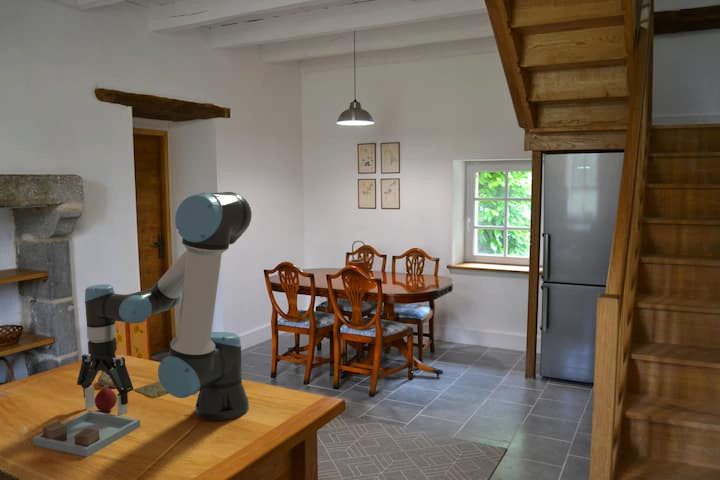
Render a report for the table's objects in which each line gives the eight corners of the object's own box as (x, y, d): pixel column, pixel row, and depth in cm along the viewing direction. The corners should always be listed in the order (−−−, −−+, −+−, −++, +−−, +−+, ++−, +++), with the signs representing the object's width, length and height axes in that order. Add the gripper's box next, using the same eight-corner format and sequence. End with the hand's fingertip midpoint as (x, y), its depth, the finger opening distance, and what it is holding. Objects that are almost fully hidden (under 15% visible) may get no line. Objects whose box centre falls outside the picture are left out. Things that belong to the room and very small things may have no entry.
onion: (108, 417, 163) (107, 390, 162) (91, 415, 164) (89, 388, 163) (121, 409, 168) (119, 383, 168) (103, 407, 170) (102, 381, 169)
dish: (140, 428, 155) (139, 419, 155) (87, 459, 139) (86, 449, 139) (90, 418, 162) (89, 410, 162) (33, 446, 145) (32, 437, 145)
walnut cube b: (67, 440, 148) (66, 425, 147) (51, 446, 144) (50, 430, 144) (59, 435, 150) (58, 421, 150) (43, 441, 147) (42, 426, 146)
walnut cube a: (100, 445, 145) (99, 429, 144) (89, 452, 141) (88, 437, 140) (85, 443, 146) (85, 428, 145) (75, 451, 142) (74, 435, 141)
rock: (95, 383, 191) (98, 386, 182) (98, 365, 192) (102, 368, 183) (122, 384, 195) (127, 388, 186) (125, 367, 196) (130, 370, 187)
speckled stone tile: (165, 380, 193) (165, 377, 193) (186, 388, 186) (186, 385, 185) (132, 391, 184) (132, 388, 184) (153, 400, 176) (153, 397, 176)
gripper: (144, 339, 163) (148, 412, 165) (81, 331, 171) (85, 401, 174) (124, 346, 156) (128, 423, 158) (60, 338, 164) (65, 410, 167)
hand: (106, 411), depth 166 cm, fingers open, 11 cm apart
